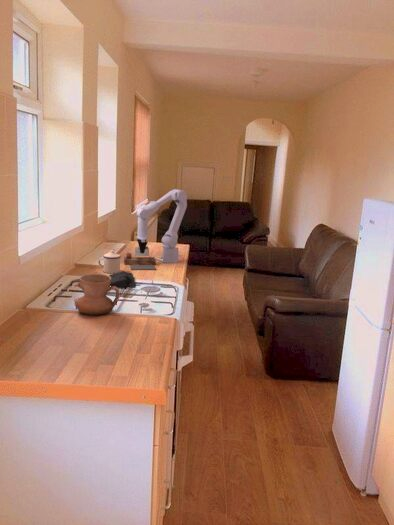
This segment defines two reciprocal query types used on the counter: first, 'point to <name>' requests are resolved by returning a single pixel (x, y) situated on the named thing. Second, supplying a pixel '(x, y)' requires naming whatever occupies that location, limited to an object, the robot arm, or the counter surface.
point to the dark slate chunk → (122, 280)
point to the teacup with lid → (111, 262)
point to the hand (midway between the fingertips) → (141, 252)
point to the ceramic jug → (95, 294)
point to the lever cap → (137, 253)
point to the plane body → (138, 260)
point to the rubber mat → (142, 267)
